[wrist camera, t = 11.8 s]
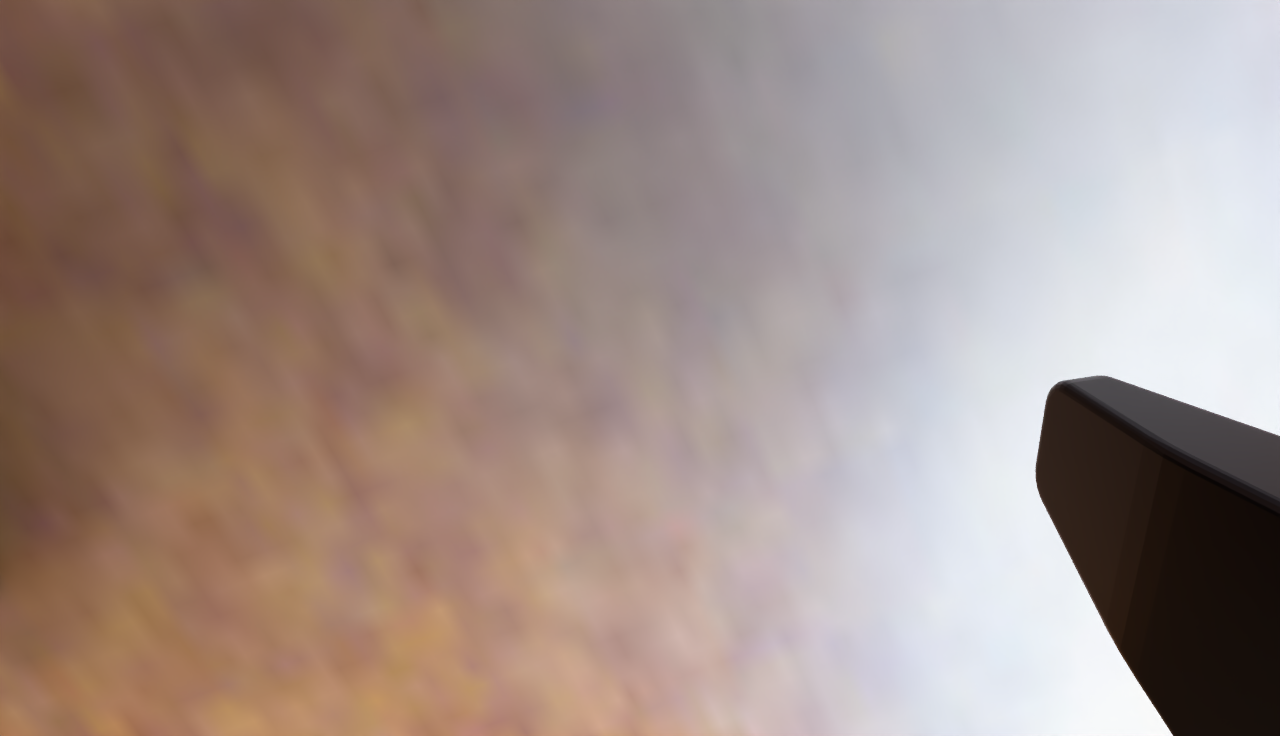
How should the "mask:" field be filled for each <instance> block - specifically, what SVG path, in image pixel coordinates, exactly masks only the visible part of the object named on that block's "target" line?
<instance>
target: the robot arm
mask: <svg viewBox="0 0 1280 736" xmlns="http://www.w3.org/2000/svg"><path fill="white" fill-rule="evenodd" d="M1036 483H1037V488H1038V491H1039V494H1040V497H1041V499H1042V502H1043V504H1044V506H1045V508H1046V510H1047V512H1048V514H1049V516H1050V518H1051V519H1052V521H1053V523H1054V525H1055V527H1056V529H1057V531H1058V533H1059V535H1060V537H1061V539H1062V541H1063V543H1064V545H1065V547H1066V549H1067V551H1068V553H1069V555H1070V557H1071V559H1072V561H1073V563H1074V565H1075V567H1076V569H1077V571H1078V573H1079V575H1080V577H1081V579H1082V581H1083V583H1084V585H1085V587H1086V589H1087V591H1088V593H1089V595H1090V597H1091V599H1092V601H1093V603H1094V605H1095V607H1096V608H1097V610H1098V612H1099V614H1100V616H1101V618H1102V620H1103V622H1104V624H1105V626H1106V628H1107V630H1108V632H1109V634H1110V635H1111V637H1112V639H1113V641H1114V643H1115V644H1116V646H1117V648H1118V650H1119V652H1120V653H1121V655H1122V657H1123V658H1124V660H1125V661H1126V663H1127V665H1128V666H1129V668H1130V670H1131V671H1132V673H1133V674H1134V676H1135V678H1136V679H1137V681H1138V682H1139V684H1140V685H1141V687H1142V688H1143V690H1144V692H1145V693H1146V695H1147V696H1148V698H1149V699H1150V701H1151V702H1152V704H1153V705H1154V707H1155V708H1156V710H1157V711H1158V713H1159V715H1160V716H1161V718H1162V719H1163V721H1164V722H1165V724H1166V725H1167V727H1168V728H1169V730H1170V731H1171V733H1172V734H1173V736H1280V436H1278V435H1275V434H1272V433H1270V432H1267V431H1264V430H1261V429H1258V428H1255V427H1252V426H1249V425H1247V424H1244V423H1241V422H1238V421H1235V420H1232V419H1229V418H1226V417H1224V416H1221V415H1218V414H1215V413H1212V412H1209V411H1206V410H1203V409H1201V408H1198V407H1195V406H1192V405H1189V404H1186V403H1183V402H1180V401H1178V400H1175V399H1172V398H1169V397H1166V396H1163V395H1160V394H1158V393H1155V392H1152V391H1149V390H1146V389H1143V388H1140V387H1137V386H1135V385H1132V384H1129V383H1126V382H1123V381H1120V380H1117V379H1114V378H1112V377H1108V376H1092V377H1085V378H1078V379H1072V380H1065V381H1060V382H1058V383H1057V384H1056V385H1054V386H1053V387H1052V388H1051V390H1050V392H1049V394H1048V396H1047V400H1046V404H1045V411H1044V417H1043V423H1042V430H1041V436H1040V442H1039V449H1038V455H1037V461H1036Z"/></svg>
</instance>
